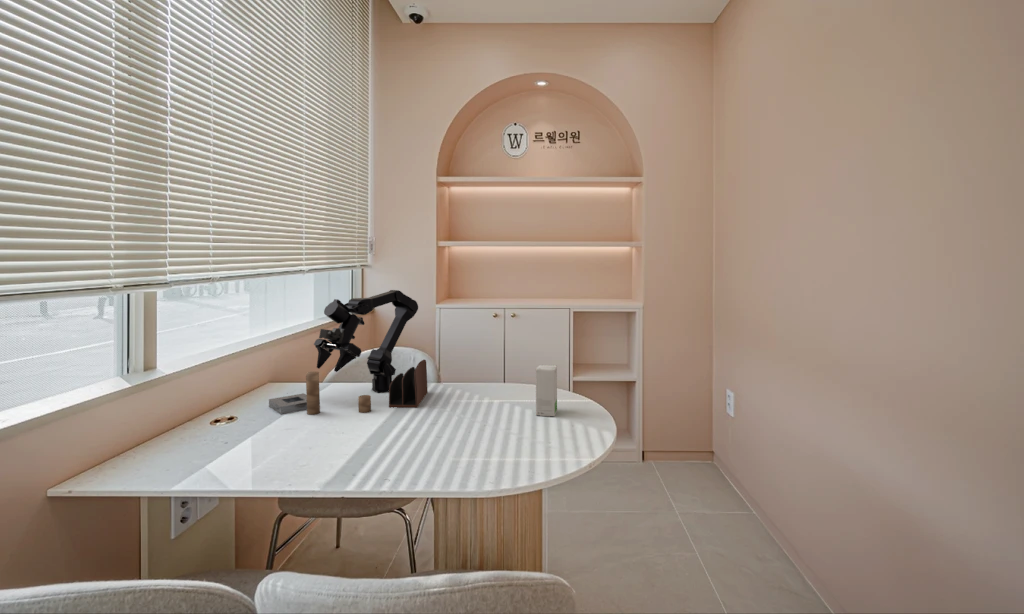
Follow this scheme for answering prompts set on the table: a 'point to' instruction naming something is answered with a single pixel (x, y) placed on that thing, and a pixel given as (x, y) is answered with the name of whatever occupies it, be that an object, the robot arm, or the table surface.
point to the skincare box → (546, 390)
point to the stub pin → (364, 403)
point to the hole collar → (289, 403)
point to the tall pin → (312, 393)
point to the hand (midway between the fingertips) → (326, 369)
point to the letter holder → (409, 387)
